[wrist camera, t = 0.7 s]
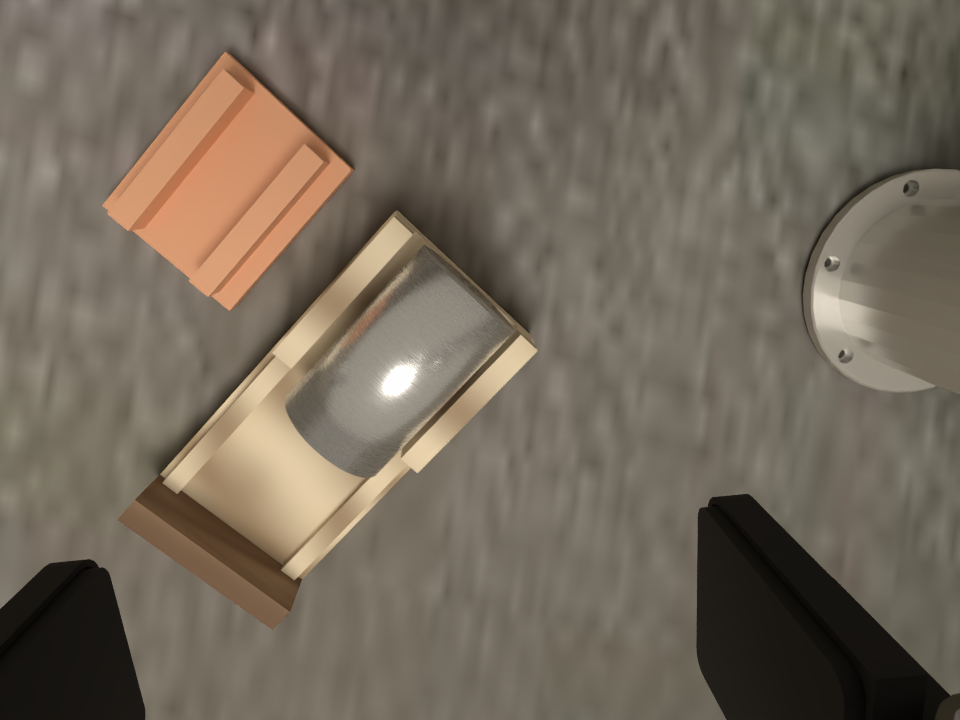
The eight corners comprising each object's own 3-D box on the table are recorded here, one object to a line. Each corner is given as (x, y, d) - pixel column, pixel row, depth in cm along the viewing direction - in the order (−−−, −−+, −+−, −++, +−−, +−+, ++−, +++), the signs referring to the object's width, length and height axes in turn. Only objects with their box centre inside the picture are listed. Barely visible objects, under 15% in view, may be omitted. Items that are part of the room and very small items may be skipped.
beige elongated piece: (397, 210, 35) (389, 214, 30) (529, 333, 37) (542, 355, 32) (158, 477, 38) (117, 519, 33) (293, 576, 40) (272, 629, 35)
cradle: (231, 55, 32) (212, 43, 30) (354, 170, 34) (346, 168, 31) (112, 205, 34) (83, 206, 31) (235, 307, 36) (218, 317, 33)
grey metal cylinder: (423, 239, 33) (422, 252, 27) (507, 316, 35) (522, 345, 29) (298, 376, 35) (271, 417, 29) (383, 445, 36) (374, 497, 30)
